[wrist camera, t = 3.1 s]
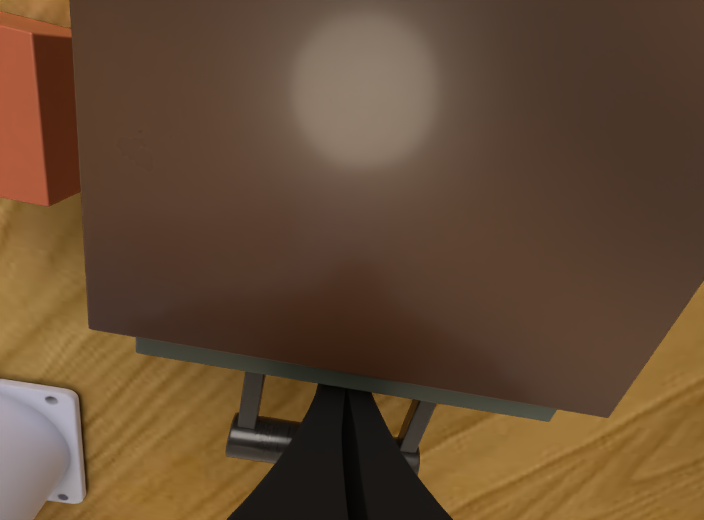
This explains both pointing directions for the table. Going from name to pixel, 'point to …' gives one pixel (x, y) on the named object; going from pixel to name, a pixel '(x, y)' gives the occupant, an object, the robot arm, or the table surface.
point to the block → (37, 112)
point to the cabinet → (397, 184)
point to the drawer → (275, 434)
